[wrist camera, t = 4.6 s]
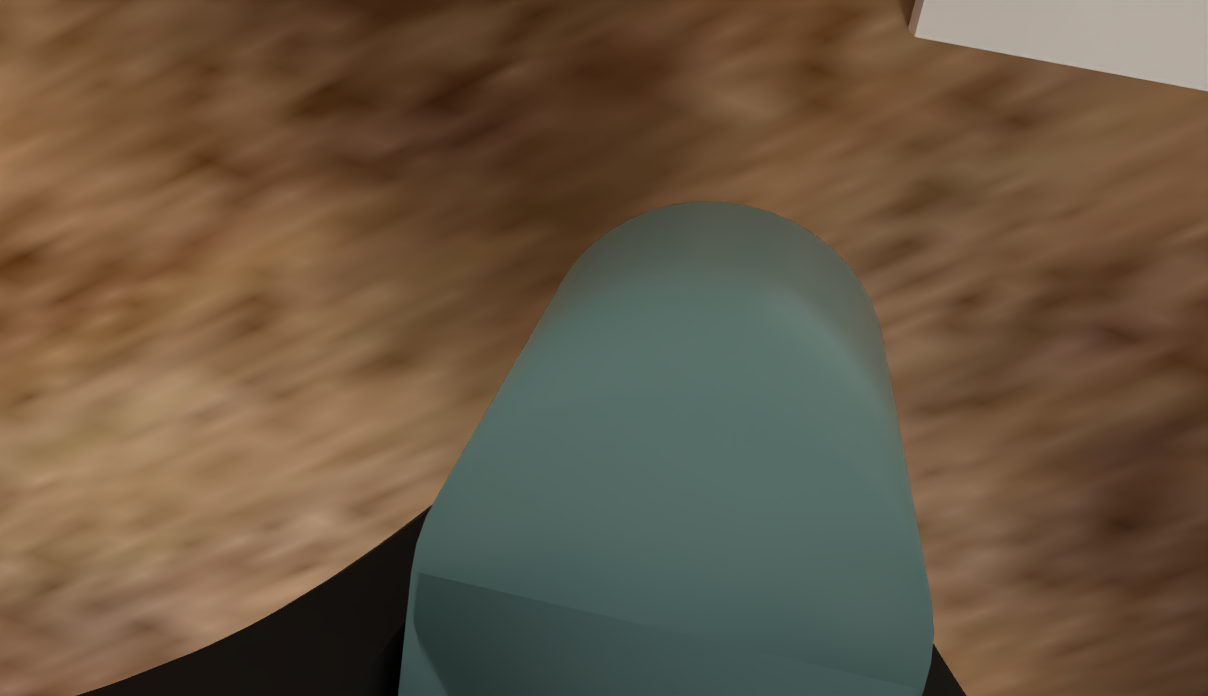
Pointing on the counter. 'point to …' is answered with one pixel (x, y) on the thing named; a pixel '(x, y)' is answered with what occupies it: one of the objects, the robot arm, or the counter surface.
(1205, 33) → the tile
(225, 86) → the counter surface
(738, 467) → the plug block
